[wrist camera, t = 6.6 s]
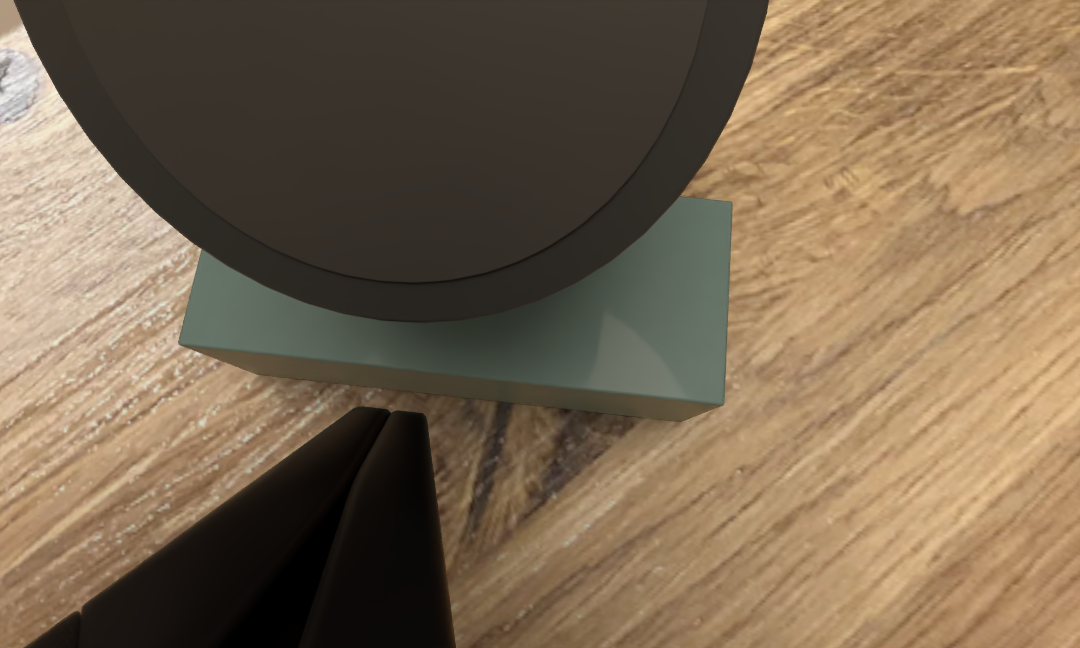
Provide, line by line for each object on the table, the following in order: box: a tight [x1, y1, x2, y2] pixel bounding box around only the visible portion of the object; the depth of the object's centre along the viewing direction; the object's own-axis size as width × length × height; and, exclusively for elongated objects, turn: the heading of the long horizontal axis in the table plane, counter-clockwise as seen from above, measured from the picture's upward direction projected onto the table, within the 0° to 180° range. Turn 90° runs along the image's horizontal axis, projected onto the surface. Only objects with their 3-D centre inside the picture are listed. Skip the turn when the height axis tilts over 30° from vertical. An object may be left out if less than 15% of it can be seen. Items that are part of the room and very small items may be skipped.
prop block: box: [178, 196, 733, 422], centre depth 14 cm, size 4×10×3 cm, turn 84°
